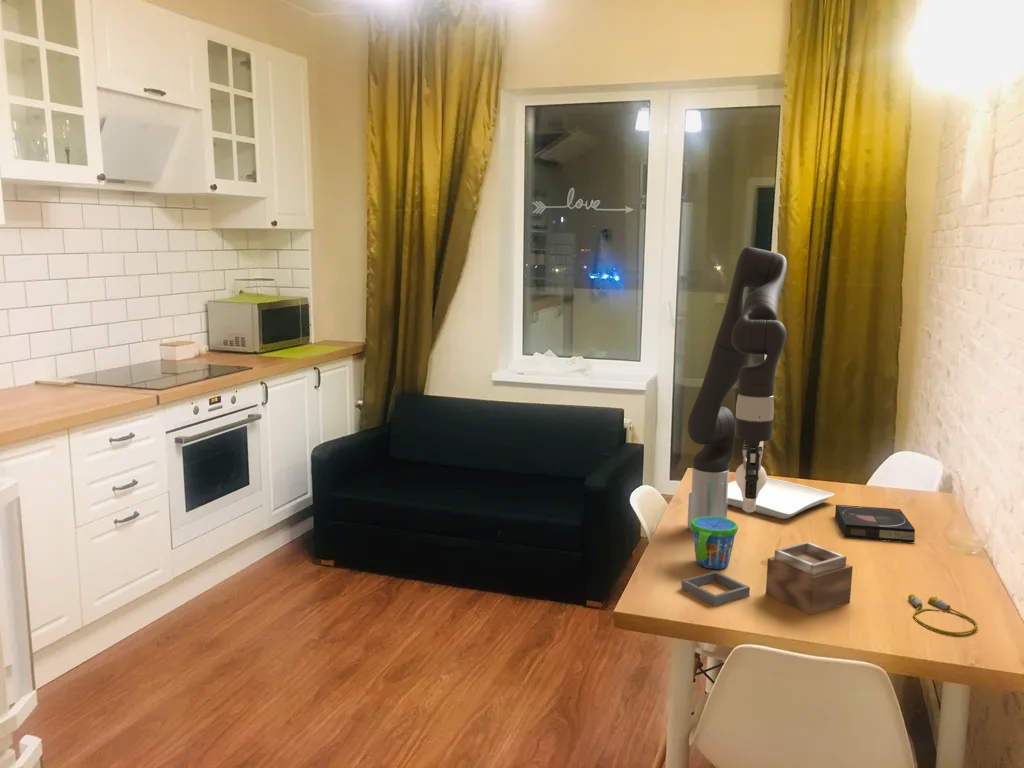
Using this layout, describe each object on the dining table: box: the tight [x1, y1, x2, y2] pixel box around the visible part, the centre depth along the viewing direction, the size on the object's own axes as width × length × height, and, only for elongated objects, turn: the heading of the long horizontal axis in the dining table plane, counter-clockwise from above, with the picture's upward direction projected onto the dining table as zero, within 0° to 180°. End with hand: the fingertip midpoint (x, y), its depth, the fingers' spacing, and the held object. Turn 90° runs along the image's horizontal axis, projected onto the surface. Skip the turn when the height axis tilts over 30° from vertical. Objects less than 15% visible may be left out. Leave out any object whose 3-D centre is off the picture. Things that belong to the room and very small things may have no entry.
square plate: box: [727, 477, 836, 520], centre depth 237 cm, size 27×27×4 cm
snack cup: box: [691, 516, 739, 570], centre depth 190 cm, size 16×10×10 cm
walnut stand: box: [765, 541, 853, 616], centre depth 172 cm, size 12×12×10 cm
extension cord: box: [907, 593, 978, 637], centre depth 163 cm, size 12×16×2 cm
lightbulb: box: [734, 463, 768, 514], centre depth 170 cm, size 6×6×11 cm
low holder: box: [680, 570, 751, 607], centre depth 175 cm, size 10×10×2 cm
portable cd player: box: [834, 504, 916, 543], centre depth 214 cm, size 16×17×4 cm
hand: (750, 493), depth 170 cm, fingers closed on lightbulb, 6 cm apart
